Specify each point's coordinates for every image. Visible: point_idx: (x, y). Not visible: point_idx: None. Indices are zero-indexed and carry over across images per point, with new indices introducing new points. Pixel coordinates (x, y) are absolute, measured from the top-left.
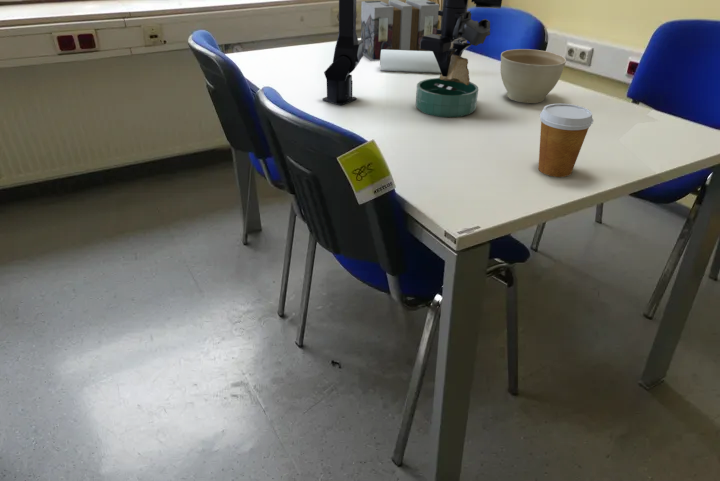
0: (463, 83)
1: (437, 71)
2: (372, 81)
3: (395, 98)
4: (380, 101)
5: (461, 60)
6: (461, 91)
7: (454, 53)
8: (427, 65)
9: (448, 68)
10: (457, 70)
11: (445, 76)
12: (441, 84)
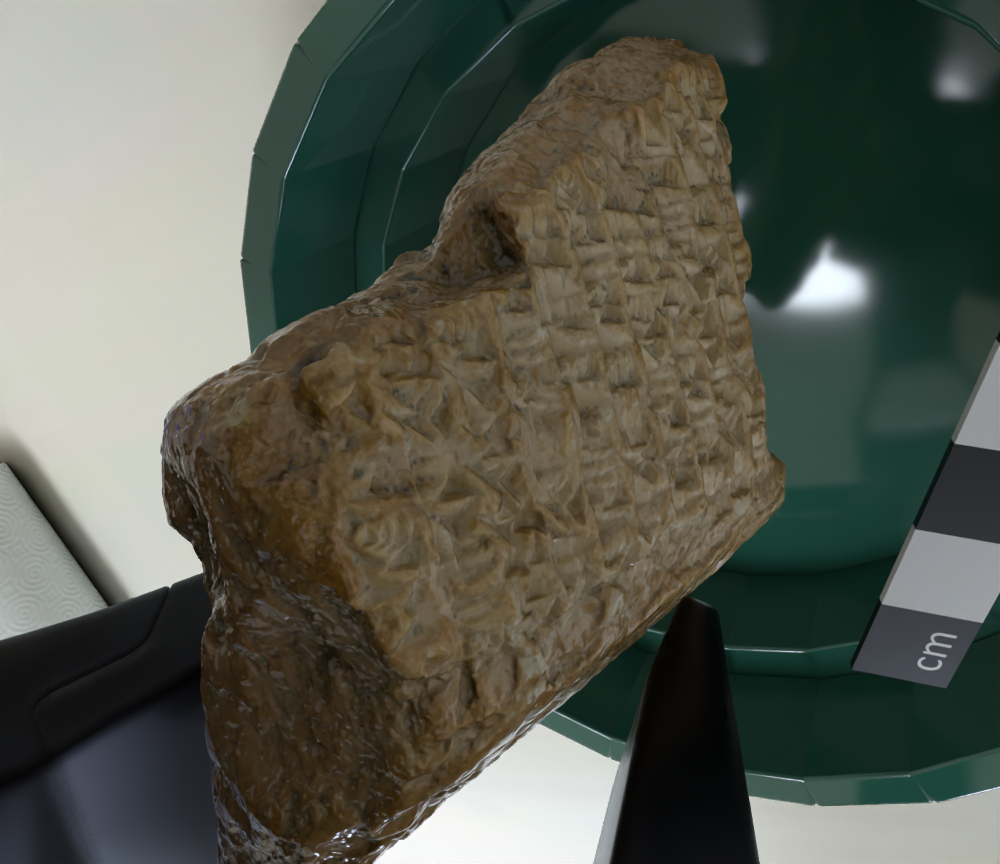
0: (295, 275)
1: (52, 536)
2: (417, 844)
3: None
4: (799, 849)
5: (420, 612)
6: (387, 250)
7: (123, 828)
8: (65, 619)
9: (661, 712)
10: (662, 488)
11: (717, 612)
12: (895, 579)
